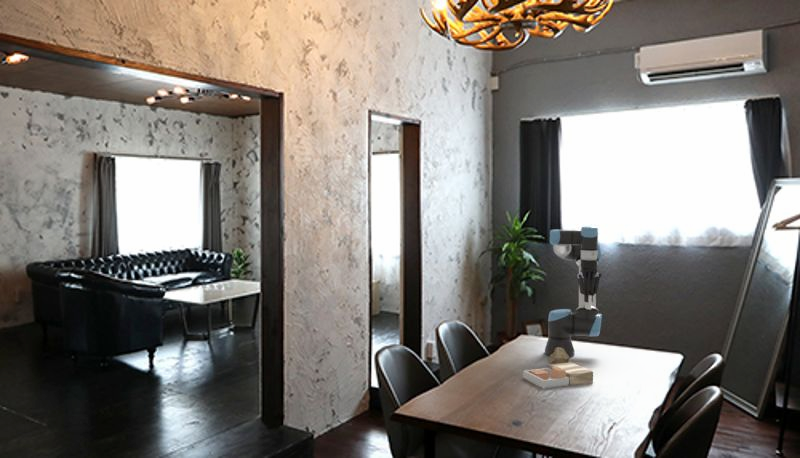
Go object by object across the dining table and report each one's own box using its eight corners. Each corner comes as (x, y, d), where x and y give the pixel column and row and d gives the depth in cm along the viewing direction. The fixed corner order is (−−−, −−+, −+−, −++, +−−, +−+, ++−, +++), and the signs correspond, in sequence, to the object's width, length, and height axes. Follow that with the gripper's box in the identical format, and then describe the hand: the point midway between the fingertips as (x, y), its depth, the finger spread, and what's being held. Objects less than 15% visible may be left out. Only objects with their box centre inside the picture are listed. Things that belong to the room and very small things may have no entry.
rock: (576, 356, 276) (558, 342, 280) (567, 364, 266) (549, 350, 270) (564, 372, 280) (547, 359, 285) (555, 381, 270) (538, 367, 274)
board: (548, 375, 265) (549, 364, 265) (571, 372, 269) (571, 362, 269) (569, 385, 250) (570, 374, 250) (592, 382, 254) (593, 371, 254)
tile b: (557, 380, 256) (551, 380, 255) (557, 366, 256) (551, 367, 255) (565, 384, 250) (559, 384, 249) (565, 370, 250) (559, 371, 249)
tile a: (541, 369, 263) (541, 375, 263) (529, 370, 261) (529, 376, 261) (548, 372, 257) (548, 379, 257) (536, 374, 255) (536, 380, 255)
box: (523, 378, 261) (523, 370, 261) (548, 375, 265) (548, 367, 265) (543, 388, 246) (543, 380, 246) (568, 385, 250) (569, 377, 250)
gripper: (582, 260, 266) (581, 311, 266) (605, 259, 270) (605, 309, 271) (572, 259, 273) (571, 308, 274) (595, 258, 277) (594, 306, 278)
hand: (588, 308), depth 272 cm, fingers closed
